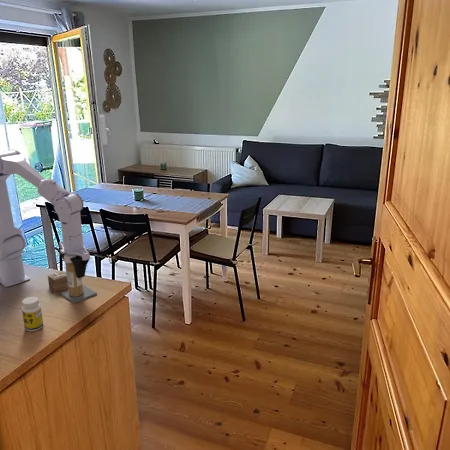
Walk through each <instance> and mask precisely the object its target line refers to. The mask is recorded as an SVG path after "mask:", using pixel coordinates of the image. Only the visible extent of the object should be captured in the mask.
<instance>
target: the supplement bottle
mask: <svg viewBox="0 0 450 450" xmlns="http://www.w3.org/2000/svg"><path fill="white" fill-rule="evenodd" d="M21 304H22V308H21V312H22V320H23V326H24V330H25V331H28V332H36V331H39V330H41V329H42V328H43V326H44V320H43V313H42V311H43V310H42V306H41V304H40V302H39V298H38V297H36V296H29V297H25V298H24V299H23V300H22V301H21Z"/></svg>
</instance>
